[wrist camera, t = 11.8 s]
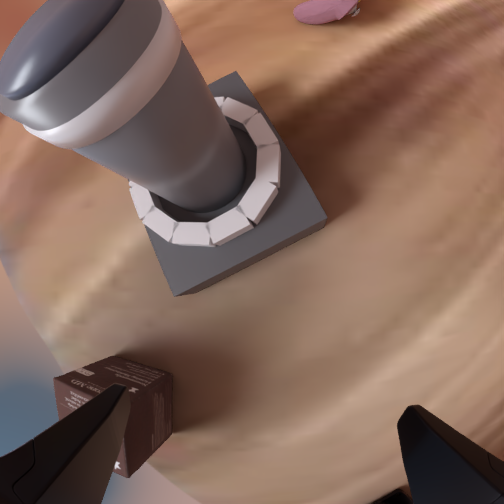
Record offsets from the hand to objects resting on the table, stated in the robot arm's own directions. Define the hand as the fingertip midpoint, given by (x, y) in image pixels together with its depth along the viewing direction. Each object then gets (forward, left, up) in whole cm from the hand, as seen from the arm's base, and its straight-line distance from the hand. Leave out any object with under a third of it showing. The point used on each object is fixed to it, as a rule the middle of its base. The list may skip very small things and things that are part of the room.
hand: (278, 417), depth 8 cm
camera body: (+11, -3, -12) cm, 17 cm away
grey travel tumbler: (+11, -3, -8) cm, 14 cm away
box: (+3, +13, -12) cm, 18 cm away
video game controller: (+19, -24, -12) cm, 33 cm away
